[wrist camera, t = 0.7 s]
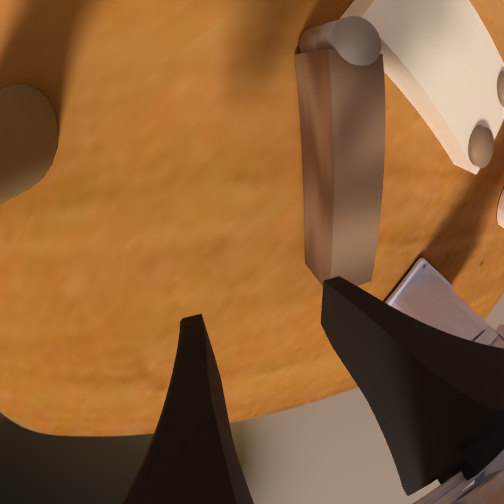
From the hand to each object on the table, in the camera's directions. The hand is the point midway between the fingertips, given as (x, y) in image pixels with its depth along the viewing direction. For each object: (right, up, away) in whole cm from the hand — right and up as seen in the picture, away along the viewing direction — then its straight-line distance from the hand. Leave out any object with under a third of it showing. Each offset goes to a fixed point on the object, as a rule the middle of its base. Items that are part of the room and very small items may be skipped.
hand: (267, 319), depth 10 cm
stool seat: (+13, +16, +5) cm, 21 cm away
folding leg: (+4, +8, +6) cm, 11 cm away
